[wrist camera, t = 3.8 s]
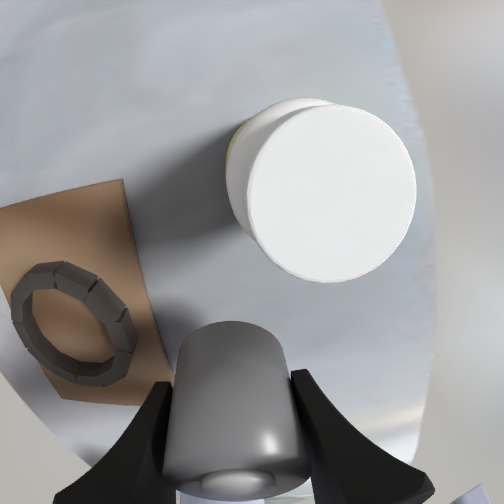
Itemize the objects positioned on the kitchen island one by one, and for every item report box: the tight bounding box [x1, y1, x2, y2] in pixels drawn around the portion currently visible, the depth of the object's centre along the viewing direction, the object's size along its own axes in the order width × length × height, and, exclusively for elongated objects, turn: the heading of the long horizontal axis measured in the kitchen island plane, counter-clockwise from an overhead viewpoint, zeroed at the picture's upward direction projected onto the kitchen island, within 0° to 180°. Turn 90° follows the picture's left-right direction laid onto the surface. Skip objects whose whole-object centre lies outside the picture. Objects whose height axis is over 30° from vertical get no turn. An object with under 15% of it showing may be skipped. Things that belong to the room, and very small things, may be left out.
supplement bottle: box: [226, 98, 416, 283], centre depth 10 cm, size 5×5×8 cm
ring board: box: [0, 179, 175, 406], centre depth 15 cm, size 16×11×2 cm
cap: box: [162, 321, 312, 502], centre depth 10 cm, size 5×5×6 cm
